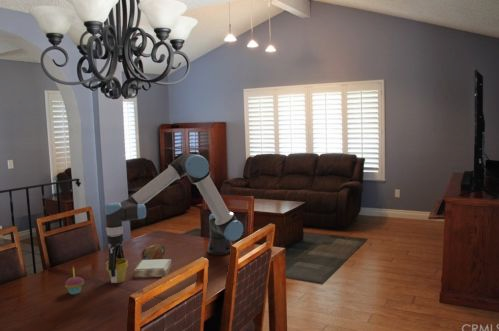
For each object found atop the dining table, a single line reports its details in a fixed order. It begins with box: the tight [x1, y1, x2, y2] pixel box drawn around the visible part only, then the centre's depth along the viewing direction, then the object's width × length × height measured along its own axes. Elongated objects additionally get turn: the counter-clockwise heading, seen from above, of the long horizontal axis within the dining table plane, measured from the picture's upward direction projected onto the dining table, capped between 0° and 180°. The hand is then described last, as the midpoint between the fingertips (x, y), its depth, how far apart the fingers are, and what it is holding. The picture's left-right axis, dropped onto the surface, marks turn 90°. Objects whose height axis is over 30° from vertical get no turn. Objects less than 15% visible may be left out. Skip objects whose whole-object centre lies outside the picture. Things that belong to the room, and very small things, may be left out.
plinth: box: [133, 258, 172, 278], centre depth 227 cm, size 16×16×4 cm
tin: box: [141, 243, 166, 260], centre depth 244 cm, size 15×3×8 cm, turn 143°
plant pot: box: [105, 258, 129, 284], centre depth 215 cm, size 10×10×10 cm
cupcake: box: [64, 265, 85, 295], centre depth 202 cm, size 9×8×12 cm
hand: (117, 278), depth 215 cm, fingers closed on plant pot, 10 cm apart
